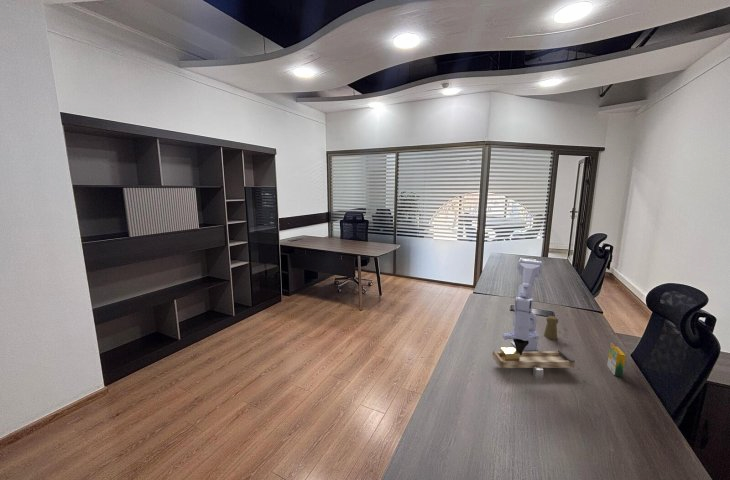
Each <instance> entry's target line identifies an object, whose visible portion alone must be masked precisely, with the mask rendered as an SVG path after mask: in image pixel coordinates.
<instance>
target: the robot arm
mask: <svg viewBox="0 0 730 480" xmlns="http://www.w3.org/2000/svg"><path fill="white" fill-rule="evenodd" d="M517 265H518V266H517V270H518V274H519V276H521V277H522V283H520V284H519V286H518V289H517V295H516V297H515V300H514V303H513V306H514V307H513V308H514V313H513V314H514V316H513V320H512V326H513V331H511V332H506V333H505V332H504V333H502V339H503V340H504V341H506V340H507V341H508V340H513V341H510V343H511V344H512V345H513V346H514V348H515V349H516V350H517V351H518V352H519V353H520V355H522V352H533V351H538V350H539V349H538V342H539V341H538V340H539V339H540V335H539V333H538V332H537V331H536V330H537V321H538V320H537V315H536V314H535V313H534V312H533V307H534V303H533V301H534V300H533V297H534V288H535V287H534V284H535V281H536V279H538V278H541V277H542V272H543V271H542V270H543V262H542V261H541V260H539V261H538V260H534V259H533V260H531V259H522V258H520V259H519V260H518V264H517Z"/></svg>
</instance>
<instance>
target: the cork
mask: <svg viewBox="0 0 730 480" xmlns="http://www.w3.org/2000/svg"><path fill="white" fill-rule="evenodd" d="M545 320H546V322H547V323H546V326H545V329H544V332H543V336H544V337H545V339H549V340H557V339H558V328H557V324H558V323H559V319H558V318H557V316H554V315H553V316H552V315H548V316H547V317H546V319H545Z"/></svg>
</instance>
